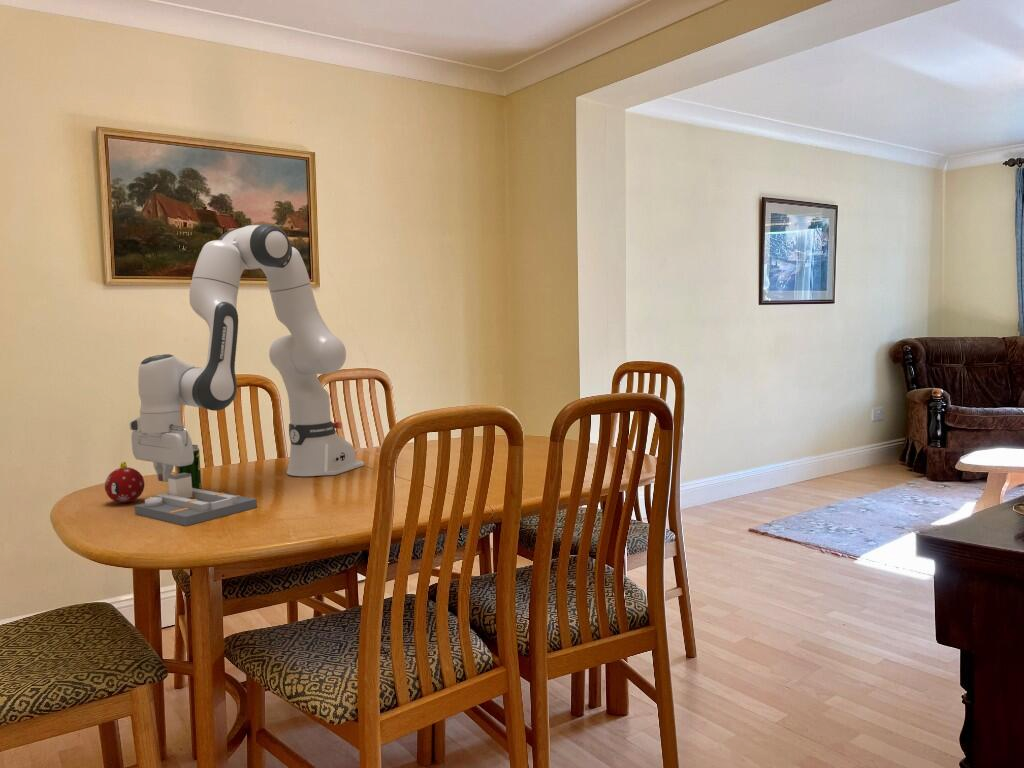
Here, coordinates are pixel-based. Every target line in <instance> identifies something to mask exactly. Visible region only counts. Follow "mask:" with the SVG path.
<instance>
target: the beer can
mask: <svg viewBox="0 0 1024 768" xmlns="http://www.w3.org/2000/svg"><path fill="white" fill-rule="evenodd" d="M192 447H193V454H194V461H193V463H192V464H191V465H186V466H176V467H177V474H179V473H189V474H191V480H192V488H196V489H201V490H203V487H202V474H201V457H200V455H201V453H200V448H199V445H198V444H192Z"/></svg>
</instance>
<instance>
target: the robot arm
mask: <svg viewBox="0 0 1024 768" xmlns="http://www.w3.org/2000/svg"><path fill="white" fill-rule="evenodd" d="M259 269H261V270H262V271H263V273H264V275H265V277H266V280H267V285H268V286H267V287H268V289H269V294H270V299H271V301H272V305H273V309H274V313H275V317H276V318H277V320H278V321H279V322H280V323H281V324H282V325H284V327H286V328H287V330H288V332H289V333H290V334H287V335H284V336H280V337H279V338H276V339H275V340H274V341H272V343H271V345H270V347H269V353H268V354H269V355H268V356H269V359H270V362H271V364H272V366H273V367H274V368H275V369H276V370H277V371H278V372H279V374H280V376H281V378H282V381H283V383H284V387H285V390H286V392H287V398H288V408H289V424H288V436H289V440H290V448H289V449H290V450H289V461H288V466H287V470H286V474H287V475H288V476H292V477H316V476H318V477H319V476H336V475H340V474H342V473H346V472H348V471H351V470H354V469H357V468H360V467H363V466H365V461H363V460H359V459H356V451H355V448H354V447H355V446H353V444H351V443H350V442H348V441H347V440H346V439H344V438H343V437H342V436H340V435H339V434H338V433H337V431H336V429H338V430H340V429H342V428H343V423H342V421H334V422H333V421H332V420H331V405H330V404H331V403H330V401H331V400H330V394H329V392H328V390H327V389H325V387H323V386H322V384H321V382H320V379H319V376H318V375H325V374H326V375H327V374H331V373H334V372H337V371H339V370H340V369H342V368H343V366H344V364H345V362H346V358H347V349H346V347H345V345H344V343H343V341H342V340H341V339H340V338H338V337H336V336H335V334H334V333H332V331H331V330H330V329H329V327H328V326H327V324H326V322H325V321H324V319H323V317H322V315H321V314H320V312H319V309H318V305H317V303H316V299H315V296H314V292H313V287H312V284H311V281H310V276H309V273H308V269H307V268H306V265H305V262H304V260H303V257H302V255H301V253H300V251H299V250H298V249H297V248H295V247H294V246H292V244H291V241H290V239H289V237H288V235H287V234H286V232H285V231H284V230H283V229H282V228H281V227H279V226H277V225H273V224H268V223H264V224H263V223H262V224H255V225H254V224H252V225H250V224H249V225H245V226H243V227H239V228H234V229H230V230H228V231H226V232H225V233H223V234H222V235H221V236H220V237H219V238H218V239H214V240H211V241H208V242H206V243H205V244H204V245H203V246H202V247H201V251H200V252H199V255H198V257H197V259H196V263H195V266H194V268H193V273H192V277H191V278H192V279H191V281H190V287H189V297H188V299H189V305H190V307H191V309H192V310H193V311H194V313H195V314H197V316H199V317H200V318H201V319H203V320H204V321H205V323H206V324H207V326H208V329H209V338H208V339H209V340H208V348H207V350H208V351H207V359H206V363H205V365H204V366H203V367H199V366H195V365H191V364H189V363H186V362H184V361H182V360H180V359H179V358H177V357H176V356H174V355H173V354H169V353H168V354H156V355H153V356H149V357H146V358H145V359H143V360H142V361H141V362H140V364H139V367H138V368H139V369H138V375H137V376H138V379H137V382H138V383H137V384H138V385H137V386H138V387H137V388H138V395H139V399H140V408H139V416H138V417H137V418H135V419H133V420H130V421H129V423H128V424H129V430H130V431H132V432H131V436H130V437H131V438H130V439H131V449H132V451H131V452H132V454H133V457H134V458H135V460H138V461H144V462H150V463H152V464H153V465H152V466H153V469H154V470H155V473H156V479H157V481H158V482H164V483H168V476H169V475H172V472H173V471H174V467H177V466H186V465H191V464H192V463H193V461H194V454H193V447H192V445H193V442H192V441H193V440H192V438H191V435H190V433H189V432H188V430H187V429H186V428H185V426H184V425H182V411H181V410H182V408H181V407H182V406H183V405H184V406H188V407H189V406H191V407H195V408H202V409H206V410H209V411H212V412H213V411H214V412H215V411H216V412H217V411H222V410H224V409H226V408H227V407H229V406H230V404H232V403H233V402H234V400H235V398H236V395H237V391H238V383H237V377H236V369H235V368H236V366H235V365H236V353H237V344H238V334H239V333H238V331H239V315H238V314H239V313H238V310H237V304H238V303H237V301H238V294H239V289H240V283H241V277H242V275H243V273H244V270H259Z"/></svg>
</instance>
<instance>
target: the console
mask: <svg viewBox="0 0 1024 768" xmlns="http://www.w3.org/2000/svg"><path fill="white" fill-rule="evenodd" d="M192 495H193V497H191V498H183V497H178V496H173V495H169V491H168V492H164V493H160V494H155V496H153V497H152V496H151V497H148V498H145V499H144V503H140V504H139V503H138V504H136V505H134V514H135V515H136V516H137V515H138V516H141V517H146V518H149V519H150V518H151V519H154V520H159V521H163V522H167V523H172V524H175V525H180V526H184V527H188V526H191V525H197V524H200V523H204V522H206V521H208V522H209V521H211V520H215V519H218V518H223V517H226V516H230V515H234V514H237V513H241V512H245V511H249V510H252V509H256V508H258V501H257V500H258V499H257V498H254V497H249V496H245V495H243V496H242V495H239V494H232V493H227V492H223V491H222V492H221V491H217V490H211V489H202V490H201V489H196V488H192Z"/></svg>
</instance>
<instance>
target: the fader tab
mask: <svg viewBox="0 0 1024 768" xmlns="http://www.w3.org/2000/svg"><path fill="white" fill-rule="evenodd" d="M167 483H168V484H167V485H168V492H169V495H173V496H178V497H183V498H191V497H193V495H192V480H191V474H189V473H179V474H178V473H175V474H171V475H169V476H168V482H167Z"/></svg>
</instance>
